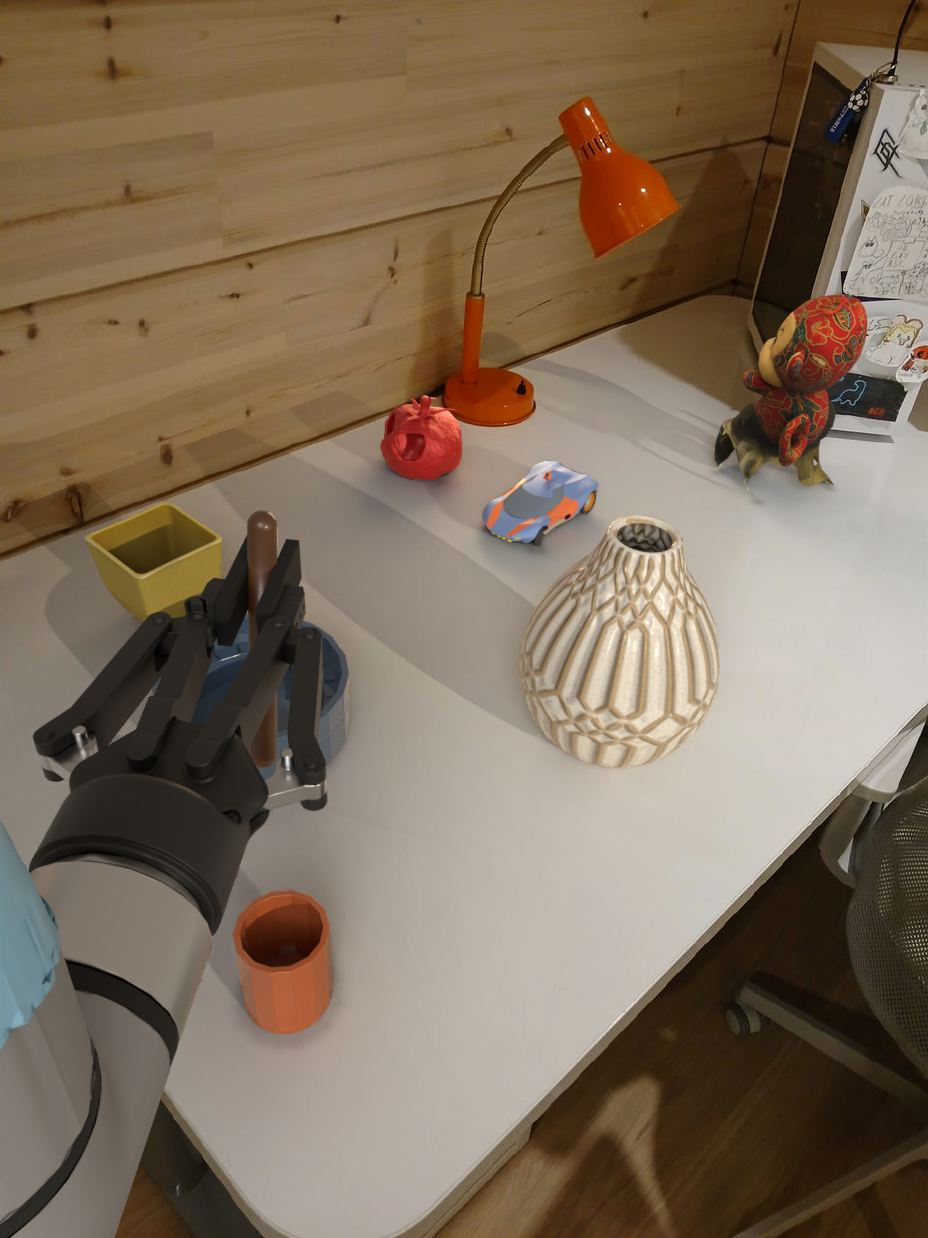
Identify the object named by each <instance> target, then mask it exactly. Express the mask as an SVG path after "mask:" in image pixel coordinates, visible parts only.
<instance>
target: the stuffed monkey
mask: <svg viewBox="0 0 928 1238" xmlns="http://www.w3.org/2000/svg"><path fill="white" fill-rule="evenodd" d="M867 333H868V315H867V311H866V309H865V307H864V305H863V303H862V302H861V300H860V299H859V298H856V297H854V296H852V295H850V294H844V293H838V294H828V295H827V294H826V295H821V296H817V297H814V298H811V299H808V300H807V301H805V302H804V303H802V304H801V305H800V306H798V307H796V308H795V310H793V311H792V312H790V313H789V315H788V316H787V317H786V319H784V321H783V322H782V324H781V325H780V327H779V329H778V330H777V333H776V336H775V337H772V338H770V339H769V338H768V339H767V341H766V342H765V343H764V344H763V346H762V348H761V350H760V353H759V357H758V370H759V371H757V370H754V369H748V370H747V371H745V372H744V373H743V374H742V377H741V381H742V384H743V385H744V387H745V388H746V389H747V390H748V391H751V392H753V393H755V394H757V395H761V397H760V398H759V399H758V400H757V401H756V402H752V403H748V404H746V405H745V406H744V407H743V408H742V409H741V410H740V411H739V413H738V414H737V415H736V416H734V417H732V418H729V419H727V420H725V421H723V422H722V423H721V426H720V428H719V431H718V433H717V436H716V438H715V441H714V443H713V449H712V451H713V453H712V455H713V463H714V466H715V467H716V468H717V469H720V468H721V467H722V466H723V465H724V464H725V463H726V462H727V460H728V459H729V458H730V456H731V455H732V454H733V453H734V452H735V455H736V458H737V462H738V464H739V468H740V472H741V475H742V479H743V482H744V485H745V487H746V489H747V491H748V492H749V493H750V494H751V495H753V496H754V497H755V498H757V497H756V496H755V494H754V493H753V492H752V491H751V490H750V489H749V487H748V485H747V484H748V482H749V480H750V478H751V477H752V476H753V475H754V474H755V472H756V471H757V470H758V469H759V468H760V467H761V466H762V465H763V464H767V463H770V464H772V465H773V466H776V467H791V465H793V467H794V468H795V470H796V473H797V480H798V482H799V483H800V484H801V485H802V486H804V487H813V486H815V485H818V484H820V483H822V482H823V481H825V482H827V483H829V484H830V485H832V486H835V484H834V482H833V481H832V480H831V478H830V477H829V476H828V475H827V473H826V472H825V471H824V469H823V468H822V465H821V462H820V445H821V441H822V440H823V439H825V438H826V437H827V436H828V434H829V432H830V431H831V429H833V427H834V424H835V421H836V414H837V411H836V408H835V405H834V404H833V402H832V401H831V400H829V395H828V389H830V388H831V387H833V386H834V385H835V384H836V383H838V382H839V381H841V380H842V379H843V378H844V377H845V376H846V375H847V374H848V373H849V372H850V371H851V370H852V369H853V367H854V366H855V364H857V362H858V360H859V359H860V357H861V355H862V352H863V350H864V346H865V343H866V341H867V340H866V339H867ZM814 461H815V462H816V464H815V462H814Z"/></svg>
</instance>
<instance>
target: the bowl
mask: <svg viewBox="0 0 928 1238" xmlns="http://www.w3.org/2000/svg"><path fill="white" fill-rule="evenodd" d="M307 627H314V628H317V629H319V630H320V631H321V633H322V649H323V684H322V698H321V712H320V725H319V739H318V744H319V746H320V749H321V751H322V753H323V756H324V758H325V761H326V765H327V764H328V763H330V761H332V760H333V759H334V757H335V755H337V753H338V751H339V750H340V749H341V748H342V746H343V745H344V743H345V742H346V739H347V735H348V732H349V727H350V724H351V686H350V685H351V684H350V670H349V664H348V660H347V659H348V658H347V655H346V652H345V651H344V649H343V648H342V647H341V646H340V644H339V642H338V641H336V639H335V637H333V635H331V634H329V632H327V631H325V630H324V629H323V628H321V627H319V626H318V625H316V624H314V623H312V622H309V621H306V620H303V622H302V624H301V627H300V630H301V629H304V628H307ZM214 646H215V652H214V655H213V658H212V661H211V664H210V666H209V669H208V672H207V675H206V678H205V681H204V684H203V687H202V690H201V693H200V696H199V699H198V702H197V705H196V708H195V711H194V714H193V717H192V720H191V724H198V723H206V721H207V719H208V717H209V715H210V713H211V712H212V710H213V708H214V706H215V704H216V703H217V702H222V701H223V700H224V698H225V696H226V694H227V692H228V690H229V689H230V687H231V685H232V683H233V681H234V679H235V677H236V676H237V674H238V672H239V670H240V668H241V666H242V665H243V663H244V661H245V659H246V657H247V655H248V654H249V645H248V613H246V616H245V618H244V620H243V622H242V625H241V627H240V629H239V632H238V634H237V636H236V638H235V641H234V643H233V645H232V647H229V646H220V645H218V643H217V638H216V640H215V642H214ZM293 672H294V666H293V670H292V671H290V668H288V669H287V671H286V673H285V675H284V677H283V679H282V681H281V683H280V685H279V687H278V689H277V758H276V760H277V759H278V758H279V757H281V751H282V750H284V749H288V748H289V746H288V734H287V732H288V718H289V709H290V700H291V691H292V681H293ZM160 679H161V678H160ZM160 679H159V680H158V681H157V683H156V684H155V685H154V687H153V688H152V689H151V693H152V694H151V696H154V694H155V692H156V689H157V687H158V684H159V682H160ZM275 762H276V761H275ZM275 762H274V764H272V765H271V766H270V767H267V768H259V767H257V768H258V769H259V771H260V773H261V775H262V777H263V779H267V778H268V777H270V776H271V775H272V774H273V773H274V770H275Z"/></svg>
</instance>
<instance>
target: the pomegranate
mask: <svg viewBox="0 0 928 1238" xmlns="http://www.w3.org/2000/svg"><path fill="white" fill-rule="evenodd" d="M436 399H437V397H432V396H430V397H429V396H427V395H425V394H423V395H422V396H421V397H420V399H419V401H420V402H419V403H420V404H419V403H418V402H417V400H416V399H415V398H406V400H407V401H411V403H412V404H410V403H409V404H407V403H406V404H403V405H400V406H394V407H391V409H393V411H391V413H390V414H389V415H388V417H387V419H386V420H385V422H384V433H383V439H382V440H381V441H380V443H379V444H380V445H379V448H380V451H381V455H382V457H383V459H384V462H385V463H386V465H387V466H388V467H389V468H390V469H391V470H392V471H394V472H395V473H397V474H398V475H400V476H401V477H404V478H406V479H409V480H418V481H435V480H437V479H438V478H439V477H441V476H442V475H445V474H449V473H451V472H453V471H454V470H456V468H458V466H459V465H460V464H461V460H462V457H463V437H462V429H461V426H460V425H461V424H460V423H459V422H458V420H457V419H456V418H455V417H454V416H453V414H452V412H456V411H458V410H459V408H457V409H456V408H455V409H454V408H449V407H448V408H444V407H441V406H431V404H432V403H433V400H436Z"/></svg>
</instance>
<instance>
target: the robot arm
mask: <svg viewBox="0 0 928 1238" xmlns="http://www.w3.org/2000/svg"><path fill="white" fill-rule="evenodd" d="M300 546H301V543H300V540H299V539H291V538H285V540H284V543H283V545H282V547H281V550H280V552H279V555H278V561H277V564H276V565H275V566H274V568H273V570H272V573H271V575H270V577H269V580H268V582H267V584H266V587H265V589H264V591H263V593H262V596H261V598H260V600H259V603H258V605H257V607H256V610H255V611H256V621H257V630H258V637H257V639H256V641H255V642H254V644H253V646H252V648H251V650H250V652H249V654H248V655H247V657H246V659H245V661H244V663H243V665H242V666H241V668H240V670H239V672H238V674H237V676H236V677H235V679H234V681H233V683H232V685H231V687H230V689H229V690H228V692H227V694H226V696H225V698H224V700H223V701H222V702H217V703H216V704H215V706H214V708H213V710H212V712H211V713H210V715H209V717H208V719H207V721H206V723H198V724H191V720H192V717H193V714H194V711H195V708H196V705H197V702H198V699H199V696H200V693H201V690H202V687H203V684H204V681H205V678H206V675H207V672H208V669H209V666H210V664H211V661H212V658H213V655H214V652H215V646H214V642H215V640H216V638H217V643H218V645H220V646H229V647H232V645H233V643H234V641H235V638H236V636H237V634H238V632H239V629H240V627H241V625H242V622H243V620H244V618H245V616H246V614H248V560H247V535H245V538H244V540H243V542H242V544H241V546H240V548H239V550H238V552H237V554H236V556H235V558H234V559H233V562H232V564H231V566H230V568H229V570H228V572H227V574H226V576H225V578H221V579H220V578H213V579H211V580H210V581H209V582H208V583H207V584H206V586H205V588H204V590H203V592H202V595H201V596H192V597H189V598H188V599H186V600H185V602H184V605H185V611H186V615H185V616H183V617H177V618H171V616H170V615H169V614H168V613H166V612H155V613H153V614H151V615H149V616H148V617H147V618H146V620H145V621H144V622H143V623H141V624H140V625H139V626H138V627H137V628H136V630H135V631H134V633H133V634H131V636H130V637H129V638H128V639H127V640H126V642H125V643H124V644H123V645H122V646H121V648H119V650H118V651H117V652H116V654H114V656H113V657H112V658H111V659H110V660H109V661H108V663H107V664H106V665H105V666H104V668H103V669H102V670H101V671H100V672H99V673H98V675H97V676H96V677H95V678H94V679H93V681H92V682H91V683H90V684H89V685H88V687H87V688H86V689H85V690H84V691H83V692H82V693H81V695H80V696H79V697H78V698H77V699H76V700H75V702H74V703H73V704H72V705H71V707H69V708H68V709H66V710H64V711H63V712H61V713H59V714H58V715H57V716H56V717H54V718H52V719H50V720H49V721H47V722H46V723H45V724H43V725H42V726H40V727H39V728H38V729H36V730H35V731H34V733H32V741H33V744H34V747H35V750H36V753H37V756H38V759H39V763H40V765H41V769H42V772H43V776H44V778H45V779H46V780H47V781H49V782H51V783H59V782H63V781H66V782H67V783H68V786H69V791H70V792H69V794H68V795H67V796H66V797H65V798H64V800H63V802H62V803H61V805H60V807H59V809H58V811H57V813H56V814H55V816H54V818H53V820H52V822H51V823H50V825H49V827H48V829H47V831H46V832H45V835H43V838H42V840H41V842H40V843H39V845H38V847H37V849H36V851H35V852H34V854H33V857H32V858H31V860H30V862H29V865H28V867H27V865H26V864H25V863H24V862H23V860H22V858H21V856H20V854H19V852H18V850H17V848H16V846H15V844H14V842H13V839H12V838H11V836H10V834H9V832H8V830H7V828H6V827H5V824H3V822H2V821H1V819H0V1238H116V1234H117V1232H118V1229H119V1225H120V1223H121V1219H122V1216H123V1213H124V1210H125V1207H126V1204H127V1201H128V1198H129V1195H130V1194H131V1193H130V1192H131V1189H132V1186H133V1184H134V1180H135V1178H136V1175H137V1171H138V1168H139V1165H140V1162H141V1159H142V1156H143V1154H144V1150H145V1147H146V1144H147V1141H148V1138H149V1135H150V1133H151V1129H152V1126H153V1123H154V1120H155V1118H156V1114H157V1111H158V1108H159V1106H160V1103H161V1102H160V1101H161V1099H162V1097H163V1096H162V1095H163V1093H164V1089H165V1087H166V1084H167V1081H168V1078H169V1075H170V1071H171V1067H172V1064H173V1061H174V1059H175V1056H176V1054H177V1051H178V1047H179V1044H180V1041H181V1037H182V1035H183V1032H184V1029H185V1026H186V1023H187V1020H188V1018H189V1015H190V1012H191V1009H192V1006H193V1003H194V1000H195V997H196V994H197V992H198V989H199V986H200V983H201V981H202V977H203V974H204V971H205V969H206V966H207V963H208V960H209V957H210V954H211V951H212V948H213V936H215V934H216V933H217V932H218V930H219V929H220V926H221V924H222V920H223V918H224V914H225V912H226V909H227V905H228V902H229V899H230V897H231V894H232V890H233V888H234V885H235V882H236V880H237V876H238V873H239V870H240V867H241V865H242V863H243V862H242V861H243V858H244V856H245V852H246V848H247V845H248V843H249V841H250V840H251V838H253V835H255V834H256V832H257V831H259V830H260V829H261V828H262V827H263V826H264V825H265V824H266V822H267V821H268V819H269V817H270V813H271V810H275V809H279V808H282V807H287V806H289V805H294V804H296V803H300V805H301V806H302V808H303V809H305V810H306V811H310V812H317V811H320V810H323V809H324V808H325V807H326V806H327V804H328V802H329V798H328V775H327V764H326V761H325V758H324V756H323V753H322V751H321V749H320V746H319V744H318V739H319V725H320V712H321V698H322V684H323V649H322V633H321V631H320V630H319V629H317V628H314V627H307V628H304V629H301V630H300V627H301V624H302V622H303V621H304V619H305V616H306V614H307V611H306V610H307V609H306V595H305V593H306V592H305V589H304V586H301V585H300V584H301V582H302V579H303V577H302V561H301V560H302V559H301V547H300ZM293 666H294V672H293V681H292V691H291V700H290V709H289V718H288V732H287V734H288V746H289V748H288V749H284V750H282V751H281V757H279V758H278V759H277V760H276V762H275V770H274V773H273V774H272V775H271V776H270V777H268V778H267V779H263V777H262V775H261V773H260V771H259V769H258V768H257V766H256V764H255V762H254V760H253V758H252V757H251V755H250V747H251V744H252V741H253V739H254V737H255V735H256V733H257V731H258V729H259V727H260V725H261V723H262V721H263V718H264V716H265V714H266V712H267V710H268V708H269V706H270V704H271V702H272V700H273V698H274V696H275V694H276V692H277V689H278V687H279V685H280V683H281V681H282V679H283V677H284V675H285V673H286V671H287V669H288V668H290V671H292V670H293ZM160 678H161V679H160ZM159 679H160V682H159V684H158V687H157V689H156V692H155V694H154V696H152V695H150V696H148V695H149V693H150V692H152V688H153V687H154V685H155V684H156V683H157V681H158V680H159ZM147 696H148V698H147V700H146V702H145V705H144V707H143V710H142V713H141V715H140V717H139V720H138V723H137V725H136V728H135V729H134V730H132V731H130V732H128V733H127V734H125V735H123V736H121V737H120V738H118V739H117V740H114V739H115V737H116V736H117V735H118V734H119V732H120V731H121V730H122V729H123V727H124V726H125V725H126V723H127V722H128V721H129V719H130V718H131V717H132V715H133V714H134V712H136V711H137V709H138V707H139V706H140V705H141V703H143V701H144V700H145V698H146V697H147ZM113 740H114V741H113Z"/></svg>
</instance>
